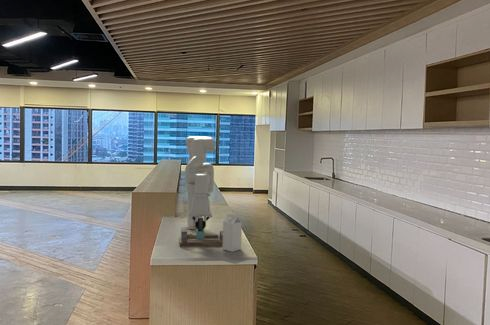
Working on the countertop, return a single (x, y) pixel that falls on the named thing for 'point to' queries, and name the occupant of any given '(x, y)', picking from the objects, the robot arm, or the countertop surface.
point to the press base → (207, 241)
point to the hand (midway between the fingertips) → (200, 228)
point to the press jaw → (200, 229)
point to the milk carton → (232, 233)
